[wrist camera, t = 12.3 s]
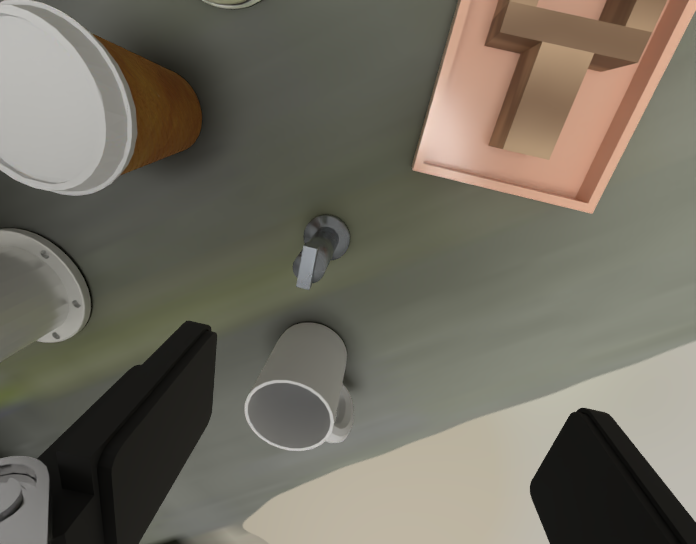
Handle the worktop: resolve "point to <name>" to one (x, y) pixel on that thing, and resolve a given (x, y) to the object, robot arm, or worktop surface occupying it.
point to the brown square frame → (559, 63)
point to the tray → (580, 126)
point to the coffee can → (231, 3)
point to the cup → (302, 391)
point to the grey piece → (320, 248)
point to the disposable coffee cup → (83, 104)
